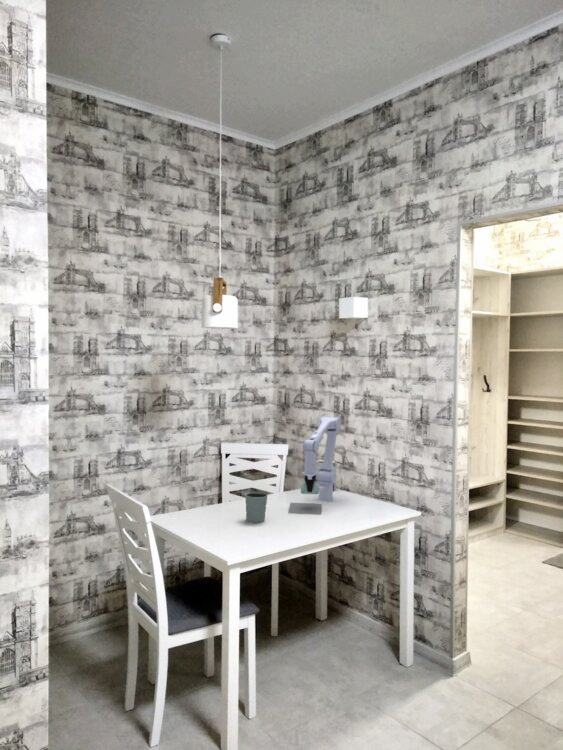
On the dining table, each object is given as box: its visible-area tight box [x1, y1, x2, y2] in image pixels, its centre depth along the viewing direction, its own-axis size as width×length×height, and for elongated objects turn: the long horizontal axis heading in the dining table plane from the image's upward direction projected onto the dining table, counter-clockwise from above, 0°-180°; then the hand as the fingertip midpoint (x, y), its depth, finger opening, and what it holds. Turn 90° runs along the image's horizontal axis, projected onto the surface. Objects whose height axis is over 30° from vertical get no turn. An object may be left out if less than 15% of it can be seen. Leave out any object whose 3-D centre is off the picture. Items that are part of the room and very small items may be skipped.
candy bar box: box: [315, 459, 337, 492], centre depth 330 cm, size 11×5×16 cm, turn 72°
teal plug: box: [300, 481, 324, 495], centre depth 288 cm, size 11×4×5 cm, turn 86°
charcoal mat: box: [287, 502, 323, 516], centre depth 287 cm, size 20×16×1 cm
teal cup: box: [245, 491, 268, 524], centre depth 266 cm, size 10×10×12 cm
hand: (309, 490), depth 288 cm, fingers closed on teal plug, 4 cm apart
